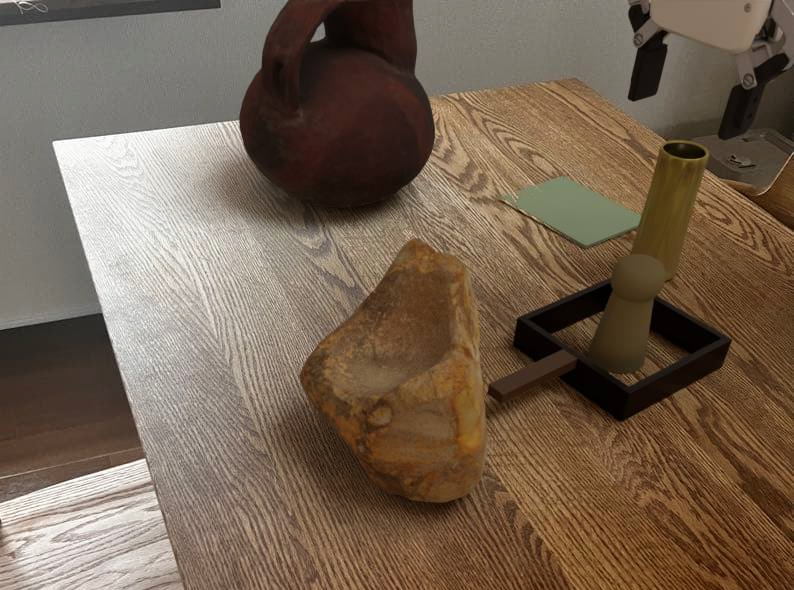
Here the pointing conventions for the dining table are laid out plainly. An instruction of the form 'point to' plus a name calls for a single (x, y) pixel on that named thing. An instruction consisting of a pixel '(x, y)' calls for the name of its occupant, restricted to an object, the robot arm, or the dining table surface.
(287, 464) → the dining table surface
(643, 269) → the olive pawn figure
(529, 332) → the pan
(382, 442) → the rough brown rock
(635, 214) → the mat
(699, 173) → the vase
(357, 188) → the jug
